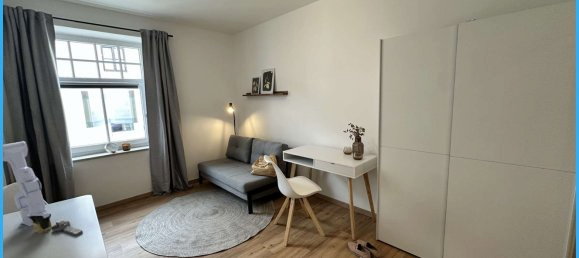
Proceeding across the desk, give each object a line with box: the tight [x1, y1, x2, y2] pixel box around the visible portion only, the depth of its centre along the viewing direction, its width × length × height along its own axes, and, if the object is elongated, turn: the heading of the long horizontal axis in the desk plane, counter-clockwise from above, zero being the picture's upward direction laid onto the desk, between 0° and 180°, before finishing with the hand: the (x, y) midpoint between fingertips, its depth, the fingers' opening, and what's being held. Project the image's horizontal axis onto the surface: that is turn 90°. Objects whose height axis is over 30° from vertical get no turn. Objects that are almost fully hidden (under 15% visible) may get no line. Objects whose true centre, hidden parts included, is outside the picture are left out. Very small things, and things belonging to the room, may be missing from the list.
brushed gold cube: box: [32, 218, 53, 234], centre depth 131 cm, size 5×5×5 cm
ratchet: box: [51, 218, 84, 237], centre depth 130 cm, size 19×7×4 cm, turn 67°
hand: (42, 227), depth 132 cm, fingers closed on brushed gold cube, 5 cm apart
